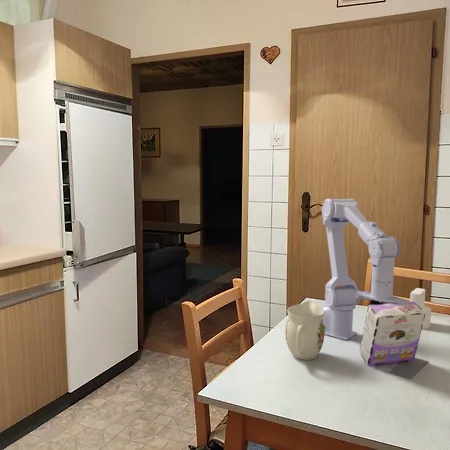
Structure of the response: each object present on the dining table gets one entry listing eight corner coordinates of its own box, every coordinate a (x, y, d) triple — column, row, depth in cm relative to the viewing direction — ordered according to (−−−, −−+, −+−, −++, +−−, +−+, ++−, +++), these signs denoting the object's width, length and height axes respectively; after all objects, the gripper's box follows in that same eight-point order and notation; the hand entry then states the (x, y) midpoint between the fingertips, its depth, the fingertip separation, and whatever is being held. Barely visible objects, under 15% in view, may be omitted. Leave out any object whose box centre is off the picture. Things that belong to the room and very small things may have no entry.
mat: (389, 372, 120) (389, 371, 120) (407, 356, 131) (407, 355, 131) (410, 378, 116) (411, 377, 116) (428, 362, 127) (428, 361, 127)
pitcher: (277, 365, 123) (278, 316, 122) (291, 342, 140) (292, 299, 139) (318, 372, 120) (319, 321, 118) (327, 347, 136) (329, 303, 135)
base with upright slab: (405, 318, 165) (407, 286, 163) (432, 323, 160) (434, 290, 158) (399, 325, 158) (400, 291, 156) (426, 331, 152) (429, 296, 151)
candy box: (403, 347, 131) (415, 300, 124) (414, 362, 126) (427, 313, 119) (358, 351, 129) (367, 303, 122) (367, 366, 124) (377, 316, 117)
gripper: (414, 282, 125) (411, 330, 126) (364, 274, 134) (362, 318, 136) (404, 287, 119) (401, 337, 121) (353, 278, 129) (350, 324, 131)
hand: (379, 327), depth 128 cm, fingers closed
